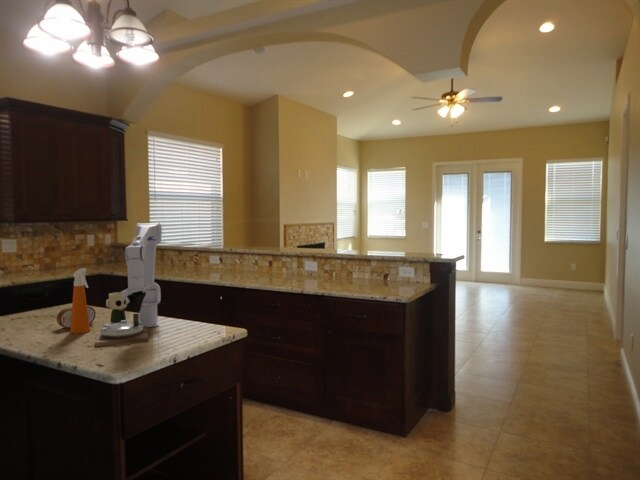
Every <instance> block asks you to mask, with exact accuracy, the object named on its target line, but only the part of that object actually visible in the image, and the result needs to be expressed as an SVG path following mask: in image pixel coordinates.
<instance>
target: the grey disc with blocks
mask: <svg viewBox="0 0 640 480" xmlns="http://www.w3.org/2000/svg"><path fill="white" fill-rule="evenodd" d="M132 317H133V318H132V321H128V319H126V320H121V323H111V322H107V323H104V324H103V326H102V327H101V328H100V330H101V336H102V337H104V338H127V337H132V336H136V335H139V334H141V333H142V332H143V324H142V322H141V321H139V312H133V313H132Z"/></svg>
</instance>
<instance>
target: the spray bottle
mask: <svg viewBox="0 0 640 480" xmlns="http://www.w3.org/2000/svg"><path fill="white" fill-rule="evenodd" d="M86 272H87V268H85V267H84V268H83V267H81V268H79V269H77V270H76V271H74V273H73V278H74V281H73V292H72V304H71V305H72V306H71V307H72V317H71V328H70V333H71V334H73V335H75V334H76V335H79V334H86V333H88V332H90V331H91V326H90V324H89V318H88V311H87V305H88V304H87V297H86V291H85V288H86V289H88V288H90V287H89V285H88V283H87V280H86Z"/></svg>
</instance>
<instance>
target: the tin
mask: <svg viewBox="0 0 640 480" xmlns="http://www.w3.org/2000/svg"><path fill="white" fill-rule="evenodd" d="M87 311H88V318H89V325H90V324H91V323H93V322H94V320H95V319H96V315H97V314H96V310H95V309H94V307H92V306H90V305H88V304H87ZM71 317H72V306H69V307H65V308H63V309H61V310H60V311H59V312H58V314H57V316H56V323H57V324H58V325H59V326H60V327H63V328H65V329H71Z"/></svg>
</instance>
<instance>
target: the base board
mask: <svg viewBox="0 0 640 480" xmlns="http://www.w3.org/2000/svg"><path fill="white" fill-rule="evenodd" d="M143 342H144V343H145V342H149V335H148V327H147V326H143V332H142V333H141V334H139V335H136V336H132V337H127V338H104V337H102V336H101V329H99V330H97V334H96V338H95V341H94V346H95V348H96V347H107V346H113V345H114V346H115V345H125V344H133V343H143Z"/></svg>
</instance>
